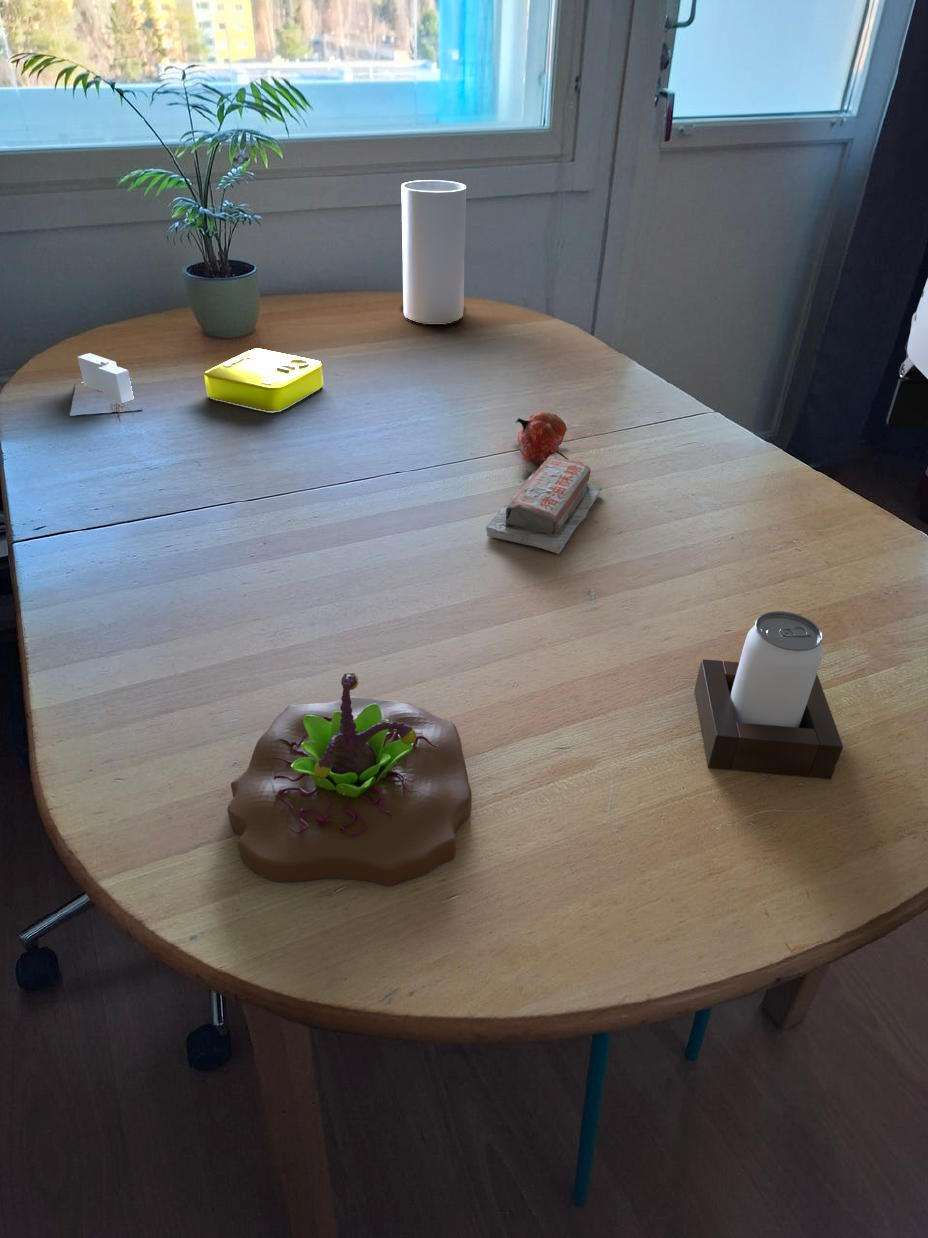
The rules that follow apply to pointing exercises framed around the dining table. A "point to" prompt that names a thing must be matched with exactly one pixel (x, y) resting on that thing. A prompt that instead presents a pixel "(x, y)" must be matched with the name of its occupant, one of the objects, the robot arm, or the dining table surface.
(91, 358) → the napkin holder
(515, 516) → the packaged product
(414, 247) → the cylinder vase
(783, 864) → the dining table surface
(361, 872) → the plant
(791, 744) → the socket block
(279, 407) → the element tile
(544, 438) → the pomegranate
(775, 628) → the can
